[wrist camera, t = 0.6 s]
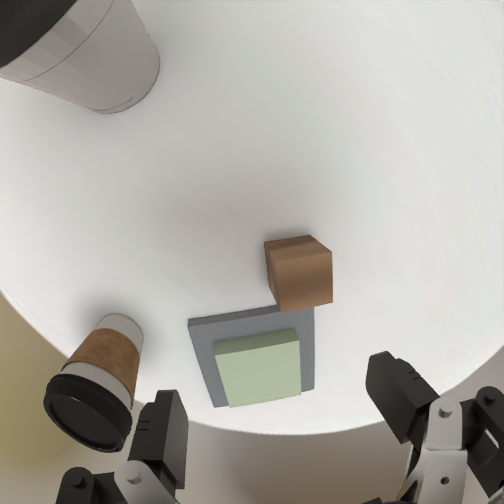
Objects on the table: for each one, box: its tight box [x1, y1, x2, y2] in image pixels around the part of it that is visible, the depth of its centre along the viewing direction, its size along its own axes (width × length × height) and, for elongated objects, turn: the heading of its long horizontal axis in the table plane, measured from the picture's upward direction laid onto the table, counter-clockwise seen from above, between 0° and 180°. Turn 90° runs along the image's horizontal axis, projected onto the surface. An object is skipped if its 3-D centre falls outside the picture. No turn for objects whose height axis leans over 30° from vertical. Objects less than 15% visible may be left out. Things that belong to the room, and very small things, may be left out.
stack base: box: [188, 305, 315, 408], centre depth 31 cm, size 14×14×4 cm
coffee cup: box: [43, 314, 143, 453], centre depth 22 cm, size 8×8×15 cm
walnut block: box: [264, 235, 333, 313], centre depth 27 cm, size 5×5×6 cm
